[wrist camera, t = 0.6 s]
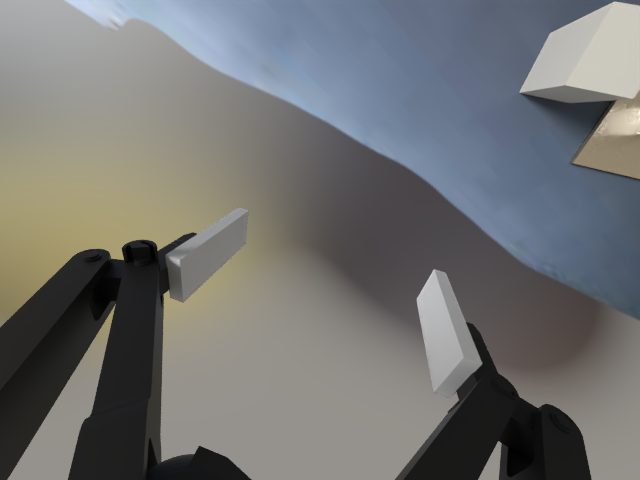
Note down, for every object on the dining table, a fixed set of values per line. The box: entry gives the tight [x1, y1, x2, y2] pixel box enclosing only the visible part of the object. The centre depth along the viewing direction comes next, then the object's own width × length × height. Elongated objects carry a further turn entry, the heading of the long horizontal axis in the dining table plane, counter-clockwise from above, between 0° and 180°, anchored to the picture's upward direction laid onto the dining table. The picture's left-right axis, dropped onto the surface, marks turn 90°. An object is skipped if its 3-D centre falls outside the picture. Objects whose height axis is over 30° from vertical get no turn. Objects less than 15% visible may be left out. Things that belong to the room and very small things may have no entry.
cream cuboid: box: [519, 2, 640, 103], centre depth 24 cm, size 6×6×9 cm
